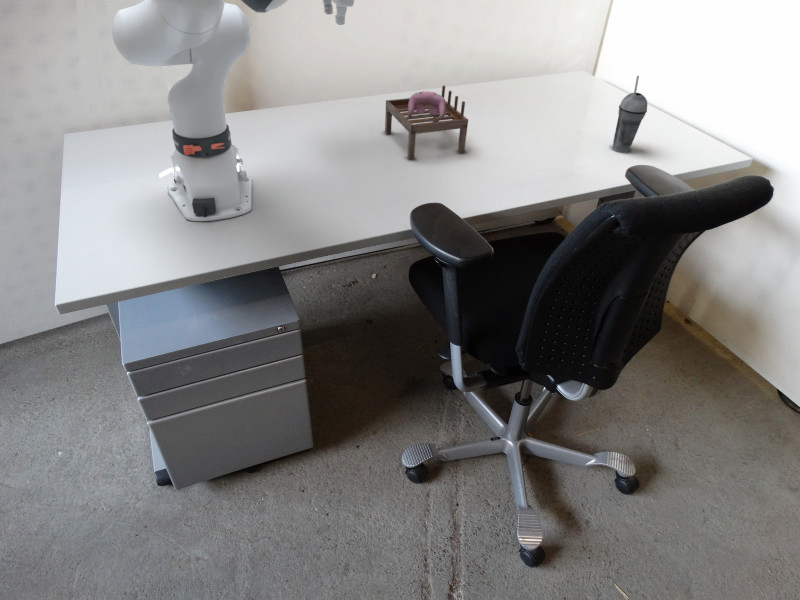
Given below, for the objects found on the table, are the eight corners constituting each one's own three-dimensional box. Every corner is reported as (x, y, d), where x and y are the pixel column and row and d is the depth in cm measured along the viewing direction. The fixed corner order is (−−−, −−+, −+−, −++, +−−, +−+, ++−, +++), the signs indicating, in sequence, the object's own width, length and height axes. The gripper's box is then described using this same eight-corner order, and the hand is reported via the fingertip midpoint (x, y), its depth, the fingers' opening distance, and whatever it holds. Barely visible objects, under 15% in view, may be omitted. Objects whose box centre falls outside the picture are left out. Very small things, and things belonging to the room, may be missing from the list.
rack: (464, 152, 157) (470, 105, 149) (409, 160, 152) (412, 112, 144) (436, 126, 169) (440, 82, 161) (384, 132, 164) (386, 87, 156)
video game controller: (444, 121, 157) (446, 93, 155) (444, 119, 152) (447, 91, 151) (407, 118, 157) (409, 90, 156) (406, 116, 153) (409, 88, 151)
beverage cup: (635, 156, 160) (659, 82, 148) (608, 152, 161) (629, 79, 149) (632, 145, 166) (655, 73, 153) (606, 142, 167) (626, 70, 154)
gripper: (361, -41, 123) (361, 30, 132) (333, -57, 137) (334, 7, 146) (332, -40, 121) (334, 31, 130) (306, -57, 135) (309, 8, 144)
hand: (334, 18), depth 138 cm, fingers open, 8 cm apart
